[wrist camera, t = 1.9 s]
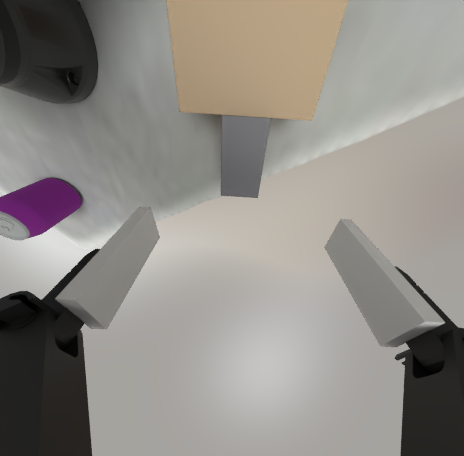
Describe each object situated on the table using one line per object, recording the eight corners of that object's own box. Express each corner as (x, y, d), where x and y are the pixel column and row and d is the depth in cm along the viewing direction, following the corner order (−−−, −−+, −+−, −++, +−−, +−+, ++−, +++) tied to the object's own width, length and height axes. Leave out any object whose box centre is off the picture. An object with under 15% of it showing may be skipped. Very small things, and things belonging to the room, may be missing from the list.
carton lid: (190, 188, 24) (187, 193, 22) (155, -120, 10) (144, -149, 9) (288, 194, 24) (290, 200, 22) (374, -105, 10) (393, -132, 9)
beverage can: (80, 213, 40) (31, 249, 30) (42, 194, 37) (-26, 227, 27) (88, 192, 36) (34, 225, 27) (46, 168, 33) (-31, 196, 24)
